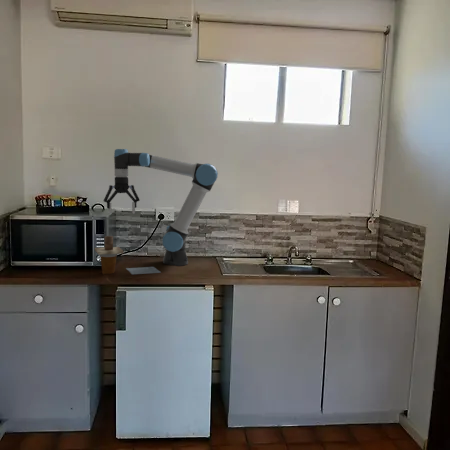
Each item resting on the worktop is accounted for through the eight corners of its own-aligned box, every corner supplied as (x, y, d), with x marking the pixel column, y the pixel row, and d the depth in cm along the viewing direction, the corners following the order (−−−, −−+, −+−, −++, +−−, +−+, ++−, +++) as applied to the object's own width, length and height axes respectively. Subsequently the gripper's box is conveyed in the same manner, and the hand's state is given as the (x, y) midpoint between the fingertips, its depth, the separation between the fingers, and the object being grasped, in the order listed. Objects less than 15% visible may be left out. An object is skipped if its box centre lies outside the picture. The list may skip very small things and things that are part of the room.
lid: (118, 249, 262) (118, 234, 261) (123, 253, 250) (123, 238, 249) (94, 250, 256) (94, 235, 255) (98, 254, 245) (98, 239, 244)
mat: (153, 267, 272) (153, 266, 272) (161, 273, 258) (161, 272, 258) (125, 269, 265) (125, 268, 265) (132, 275, 252) (132, 274, 252)
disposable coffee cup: (112, 276, 249) (112, 253, 248) (96, 274, 251) (96, 252, 250) (120, 272, 258) (120, 250, 257) (104, 270, 260) (104, 249, 259)
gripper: (100, 176, 256) (101, 215, 259) (144, 176, 268) (145, 213, 271) (97, 176, 263) (98, 214, 265) (140, 176, 274) (141, 212, 277)
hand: (122, 214), depth 268 cm, fingers open, 13 cm apart
